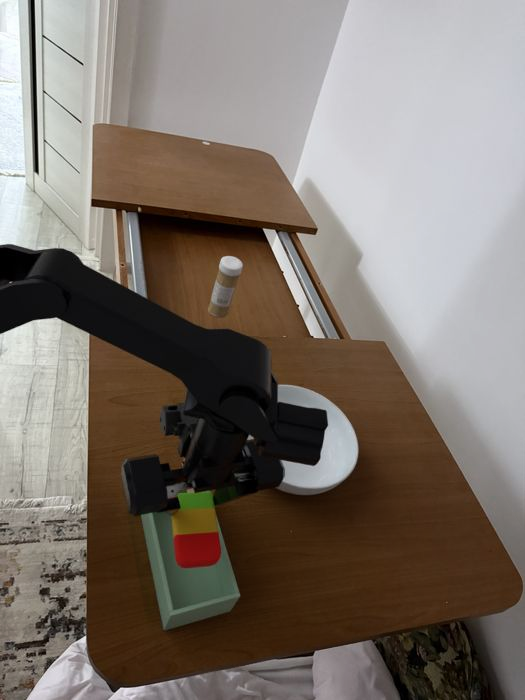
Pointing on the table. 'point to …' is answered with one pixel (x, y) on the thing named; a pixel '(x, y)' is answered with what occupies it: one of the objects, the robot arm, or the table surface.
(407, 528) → the table surface
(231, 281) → the sprinkles bottle
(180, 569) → the bin
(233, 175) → the table surface
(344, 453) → the serving bowl
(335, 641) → the table surface
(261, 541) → the table surface
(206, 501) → the popsicle
